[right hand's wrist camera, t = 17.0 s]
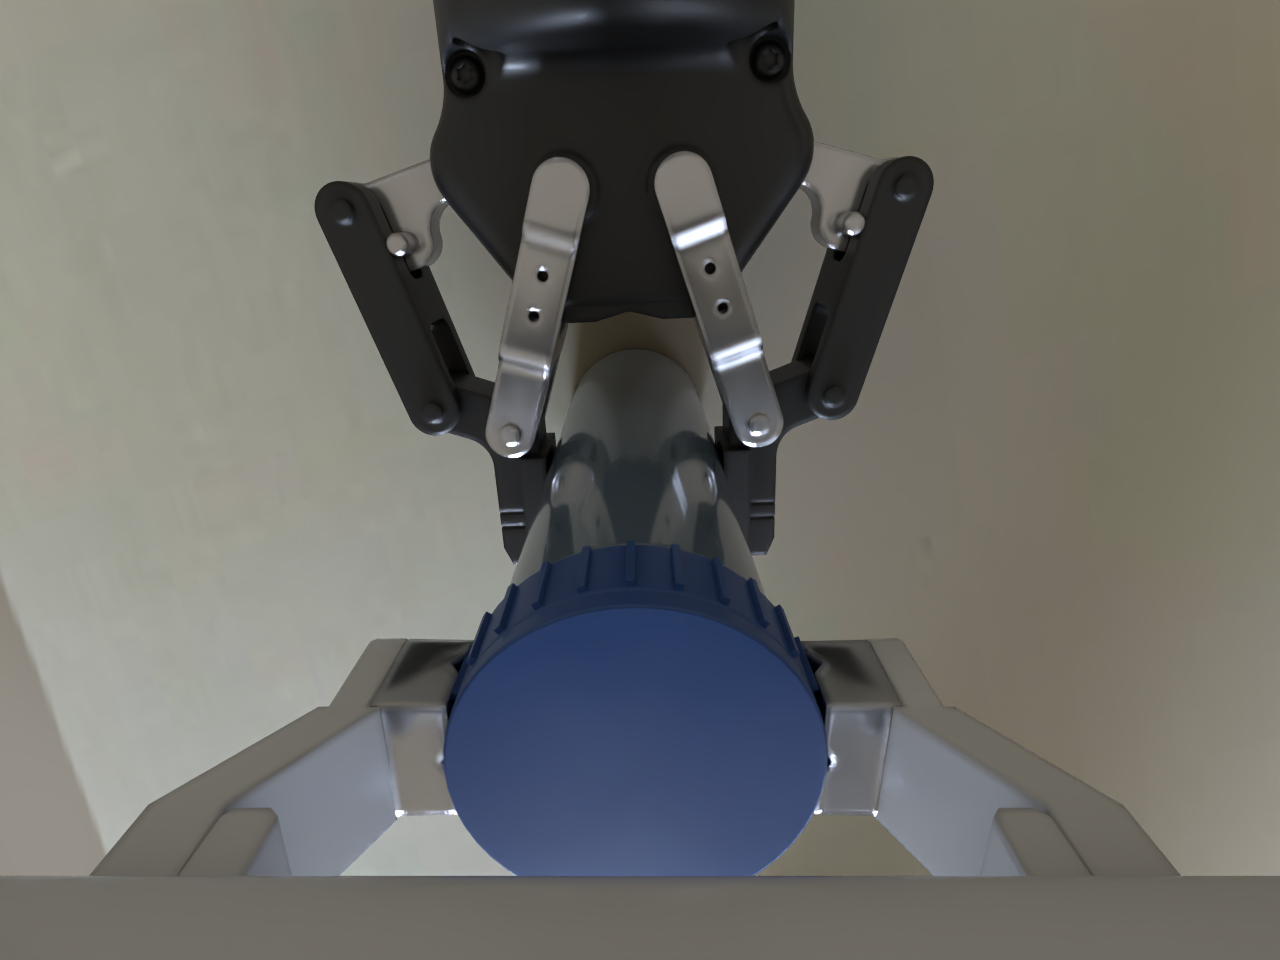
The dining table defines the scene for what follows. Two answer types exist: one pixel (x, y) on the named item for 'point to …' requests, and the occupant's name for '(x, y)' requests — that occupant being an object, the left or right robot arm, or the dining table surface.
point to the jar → (635, 471)
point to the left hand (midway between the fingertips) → (641, 563)
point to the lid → (635, 721)
